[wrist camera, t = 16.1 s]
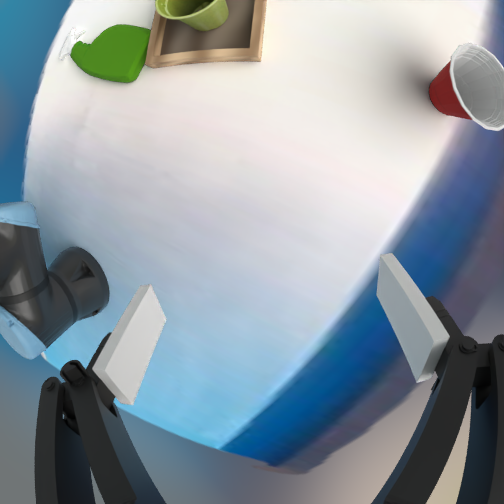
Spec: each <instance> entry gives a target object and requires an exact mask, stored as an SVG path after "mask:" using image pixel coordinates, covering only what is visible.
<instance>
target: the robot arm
mask: <svg viewBox="0 0 504 504" xmlns="http://www.w3.org/2000/svg"><path fill="white" fill-rule="evenodd" d="M39 229H40V226H39V225H38V222H37V217H36V211H35V207H34V206H33V204H31V203H30V202H11V203H4V204H0V333H1V334H2V336H3V337H4V338H5V340H6V341H7V342H8V343H9V344H10V346H11V347H12V348H13V349H14V350H15V351H16V352H18V353H19V354H20V355H21V356H23V357H25V358H28V359H33V358H35V357H37V356H38V355H39V354H41V353H42V352H43V351H46V349H47V348H48V347H49V346H50V345H51V344H52V343H53V342H54V341H55V340H56V339H57V338H58V337H60V336H61V335H62V334H63V333H64V332H65V331H66V330H67V329H68V328H69V327H71V326H72V325H73V324H74V323H75V322H76V321H79V320H82V319H85V318H88V317H91V316H94V315H97V314H98V313H100V312H101V311H102V310H103V309H104V308H105V307H106V306H107V304H108V301H109V287H108V283H107V279H106V277H105V274H104V272H103V270H102V269H101V267H100V265H99V264H98V262H97V261H96V260H95V259H94V258H93V257H92V256H91V255H90V254H89V253H88V252H87V251H85V250H83V249H81V248H78V247H71V248H69V249H67V250H65V251H63V252H62V253H60V254H59V255H58V257H57V258H56V259H55V261H54V262H53V263H52V264H51V266H50V267H49V268H48V269H47V268H46V264H45V259H44V254H43V249H42V244H41V238H40V233H39ZM377 297H378V299H379V301H380V303H381V305H382V307H383V309H384V311H385V313H386V315H387V317H388V319H389V321H390V323H391V325H392V327H393V329H394V331H395V334H396V336H397V338H398V340H399V342H400V344H401V347H402V349H403V351H404V353H405V356H406V358H407V360H408V363H409V365H410V367H411V370H412V372H413V375H414V377H415V380H416V382H417V383H418V382H421V381H424V380H427V379H430V378H431V377H432V375H433V373H434V371H436V374H437V376H438V378H437V380H436V382H435V383H434V385H433V387H432V389H431V390H432V393H431V395H430V398H429V400H428V403H427V405H426V408H425V410H424V412H423V414H422V417H421V419H420V421H419V423H418V425H417V428H416V430H415V432H414V434H413V436H412V438H411V440H410V442H409V444H408V446H407V447H406V449H405V451H404V453H403V455H402V457H401V459H400V460H399V462H398V464H397V465H396V467H395V469H394V470H393V472H392V474H391V475H390V477H389V478H388V480H387V481H386V483H385V485H384V486H383V488H382V489H381V491H380V492H379V493H378V495H377V496H376V498H375V499H374V501H373V502H372V503H371V504H426V502H427V500H428V499H429V497H430V495H431V493H432V491H433V489H434V488H435V486H436V484H437V482H438V480H439V478H440V476H441V474H442V472H443V469H444V467H445V465H446V462H447V461H448V458H449V456H450V453H451V451H452V449H453V446H454V443H455V441H456V438H457V435H458V433H459V430H460V427H461V424H462V421H463V418H464V415H465V411H466V408H467V405H468V401H469V397H470V393H471V389H472V397H471V421H470V432H469V441H468V449H467V456H466V462H465V468H464V473H463V478H462V482H461V487H460V491H459V495H458V499H457V502H456V504H504V335H503V334H502V335H497V336H496V337H495V338H494V340H493V342H492V343H490V344H489V343H488V344H478V343H477V342H476V341H475V340H474V339H473V338H471V337H469V336H464V335H463V334H462V332H461V331H460V329H459V328H458V326H457V325H456V323H455V322H454V320H453V319H452V317H451V316H450V315H449V313H448V311H447V310H446V309H445V307H444V306H443V304H442V303H441V302H440V301H439V300H438V299H436V298H435V297H433V296H431V297H427V298H425V297H424V296H423V294H422V293H421V291H420V290H419V289H418V287H417V286H416V284H415V283H414V282H413V280H412V279H411V277H410V276H409V275H408V273H407V272H406V271H405V269H404V268H403V267H402V265H401V264H400V263H399V261H398V260H397V259H396V257H395V256H394V255H393V254H392V253H390V254H383V255H380V262H379V275H378V286H377ZM166 320H167V319H166V317H165V315H164V313H163V310H162V308H161V306H160V304H159V301H158V299H157V297H156V295H155V292H154V290H153V287H152V285H151V284H149V285H140V287H139V289H138V290H137V292H136V293H135V295H134V297H133V298H132V300H131V301H130V303H129V305H128V306H127V308H126V310H125V311H124V313H123V315H122V316H121V318H120V320H119V321H118V323H117V325H116V327H115V328H114V330H113V332H112V333H108V334H107V335H106V336H105V337H104V338H103V340H102V341H101V343H100V345H99V347H98V348H97V350H96V353H95V354H94V355H93V357H92V359H91V361H90V363H89V365H88V366H87V368H86V369H85V368H84V367H83V366H82V364H81V363H80V362H79V361H78V360H72V361H69V362H67V363H66V364H65V365H64V366H63V367H62V369H61V371H60V375H61V377H62V378H63V379H64V380H65V381H66V382H64V383H61V382H60V381H59V379H58V378H56V377H50V378H48V379H47V380H46V381H45V382H44V383H43V385H42V389H41V395H40V401H39V408H38V418H37V428H36V440H35V493H36V504H96V503H95V498H94V493H93V486H92V479H91V471H90V467H91V470H92V473H93V475H94V478H95V481H96V483H97V486H98V488H99V490H100V493H101V495H102V498H103V500H104V502H105V504H166V503H165V501H164V499H163V498H162V496H161V495H160V493H159V492H158V490H157V488H156V487H155V485H154V483H153V482H152V480H151V478H150V476H149V475H148V473H147V471H146V469H145V467H144V466H143V463H142V462H141V460H140V458H139V456H138V454H137V452H136V450H135V448H134V446H133V444H132V441H131V439H130V437H129V435H128V433H127V431H126V428H125V426H124V424H123V421H122V419H121V417H120V414H119V412H118V409H117V407H116V405H115V403H114V402H113V401H114V398H115V397H116V398H117V399H118V401H119V402H120V403H122V404H129V405H133V404H134V401H135V399H136V396H137V393H138V390H139V388H140V385H141V382H142V380H143V377H144V374H145V372H146V369H147V367H148V364H149V361H150V359H151V356H152V354H153V351H154V349H155V346H156V344H157V341H158V339H159V336H160V334H161V332H162V329H163V327H164V324H165V322H166ZM63 414H64V419H63Z"/></svg>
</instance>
